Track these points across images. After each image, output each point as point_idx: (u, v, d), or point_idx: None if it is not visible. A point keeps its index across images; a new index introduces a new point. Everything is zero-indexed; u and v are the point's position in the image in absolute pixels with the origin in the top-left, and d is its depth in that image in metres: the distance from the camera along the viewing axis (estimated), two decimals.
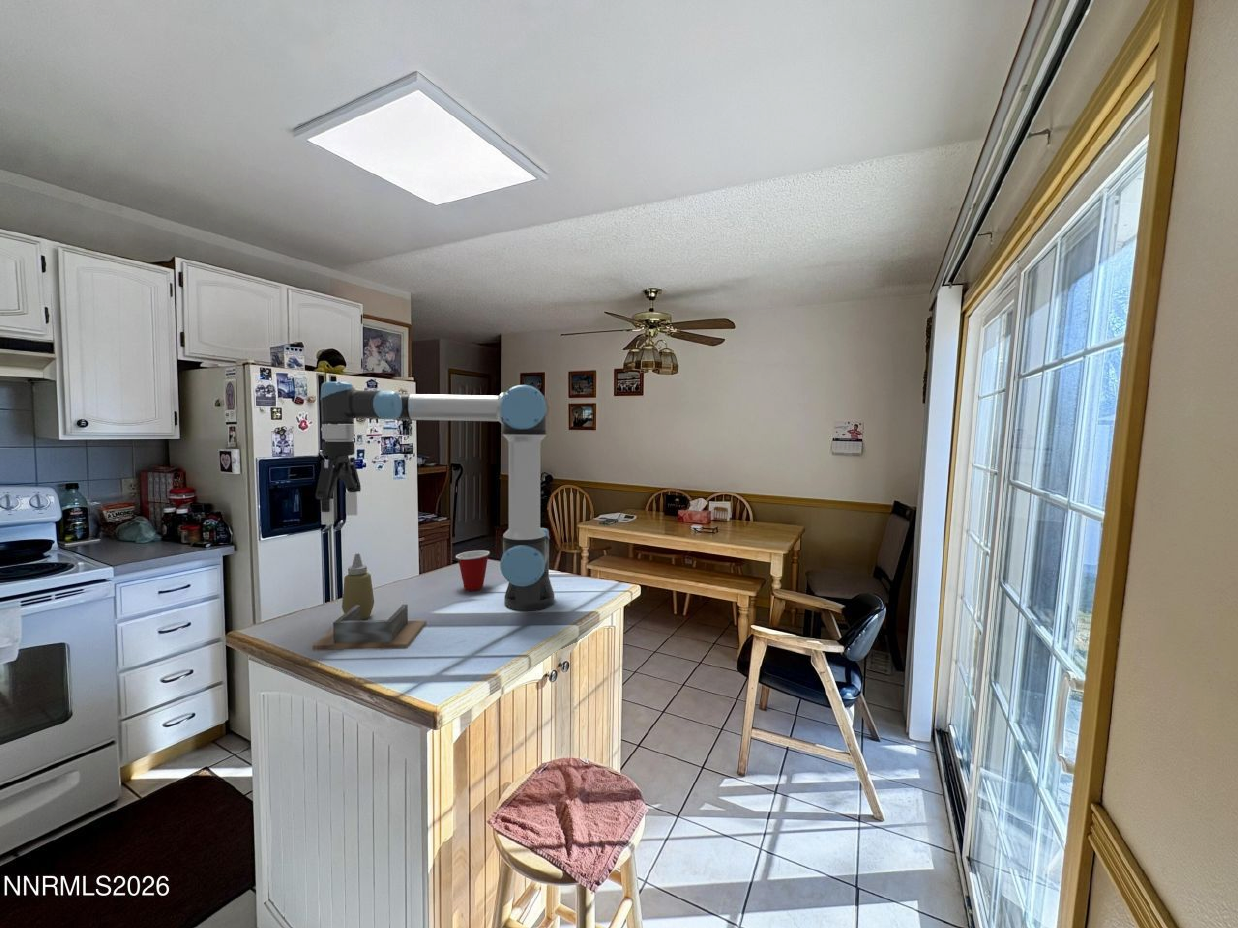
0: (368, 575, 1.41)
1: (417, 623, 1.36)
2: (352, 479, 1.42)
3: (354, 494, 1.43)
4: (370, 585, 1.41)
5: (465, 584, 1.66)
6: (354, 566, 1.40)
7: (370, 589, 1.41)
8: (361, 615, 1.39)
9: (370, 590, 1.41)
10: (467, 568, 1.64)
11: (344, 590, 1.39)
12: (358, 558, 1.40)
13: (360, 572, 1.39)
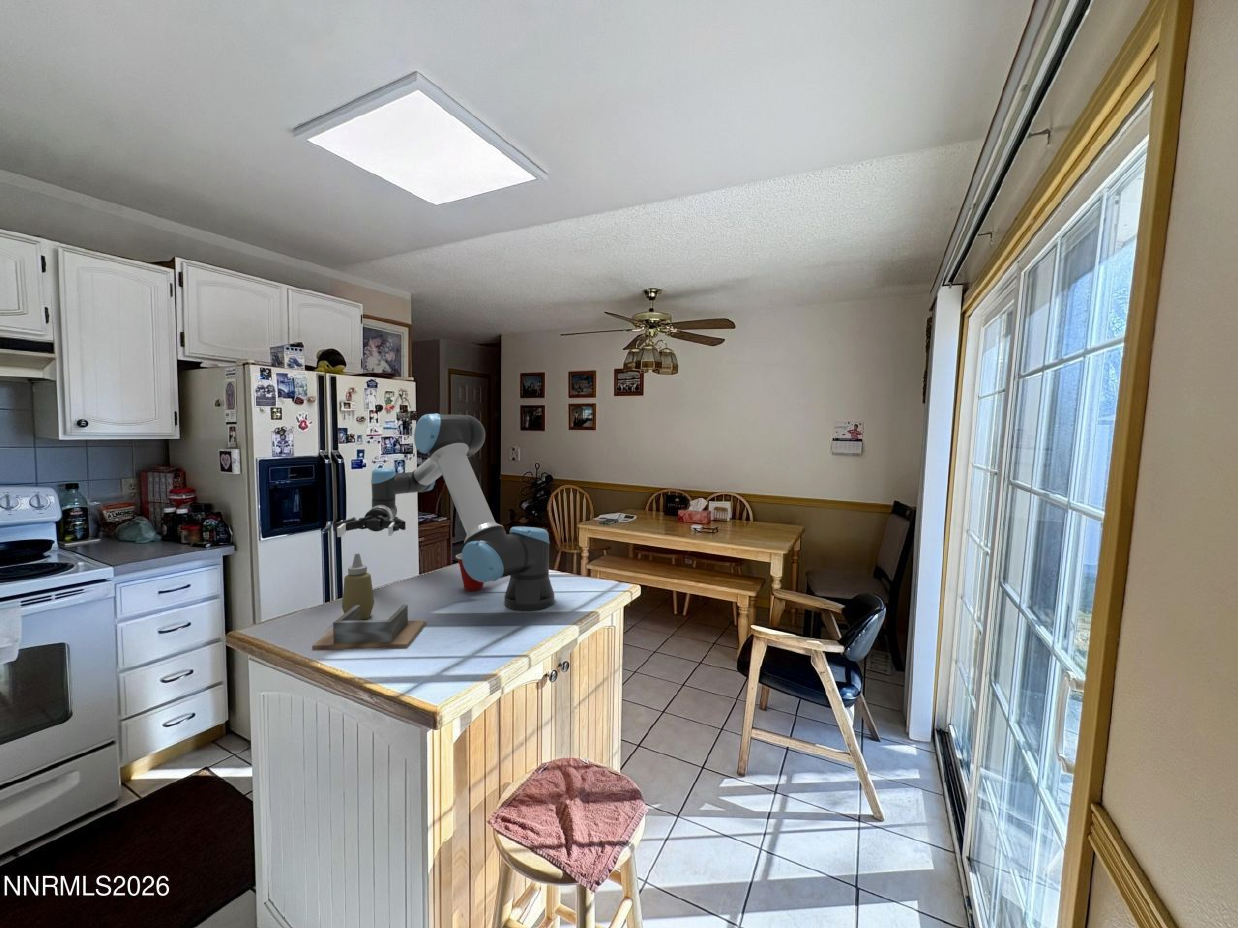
0: (368, 575, 1.41)
1: (417, 623, 1.36)
2: (389, 520, 1.60)
3: None
4: (370, 585, 1.41)
5: (465, 584, 1.66)
6: (354, 566, 1.40)
7: (370, 589, 1.41)
8: (361, 615, 1.39)
9: (370, 590, 1.41)
10: None
11: (344, 590, 1.39)
12: (358, 558, 1.40)
13: (360, 572, 1.39)
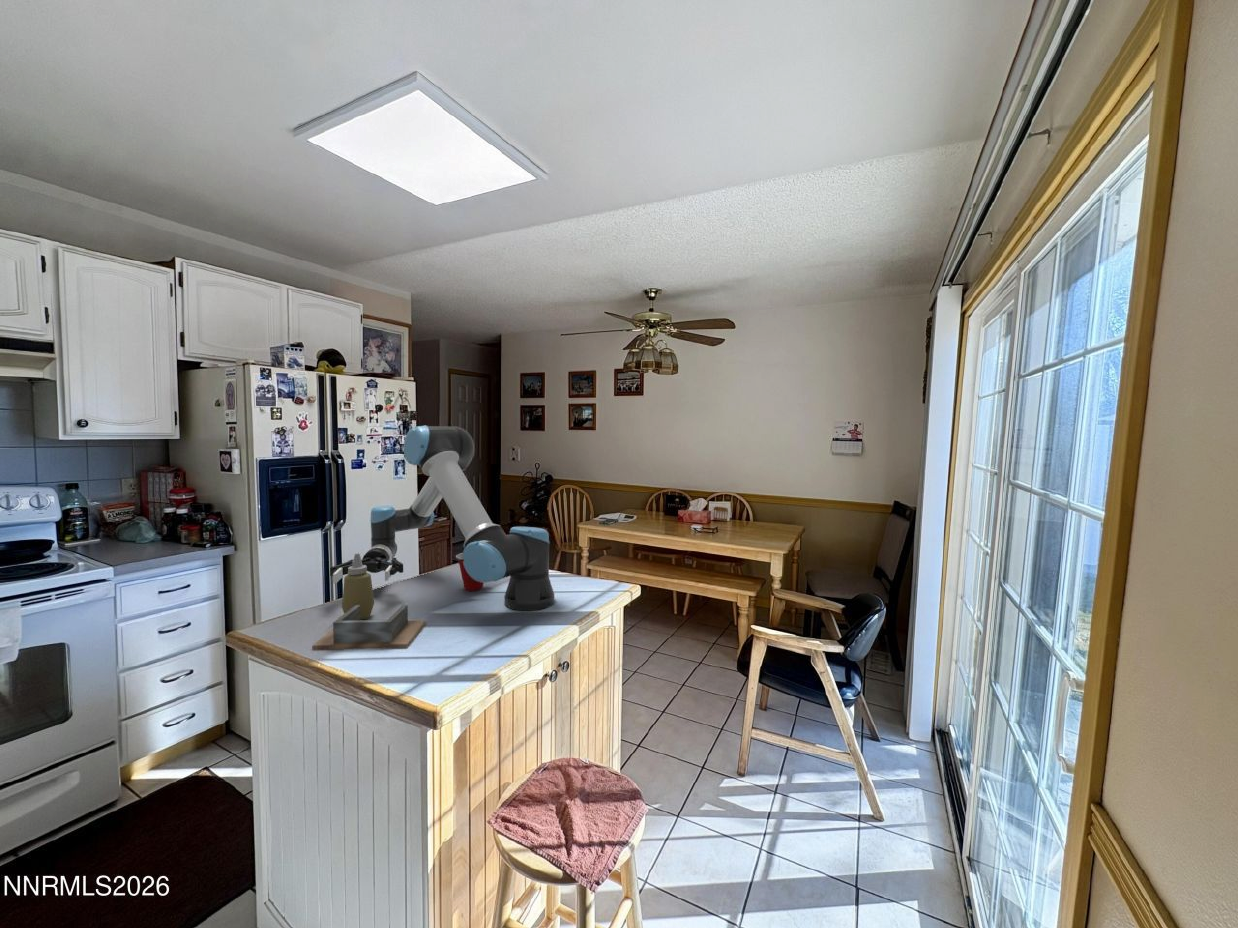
0: (368, 575, 1.41)
1: (417, 623, 1.36)
2: (386, 563, 1.57)
3: None
4: (370, 585, 1.41)
5: (465, 584, 1.66)
6: (354, 566, 1.40)
7: (370, 589, 1.41)
8: (361, 615, 1.39)
9: (370, 590, 1.41)
10: None
11: (344, 590, 1.39)
12: (358, 558, 1.40)
13: (360, 572, 1.39)
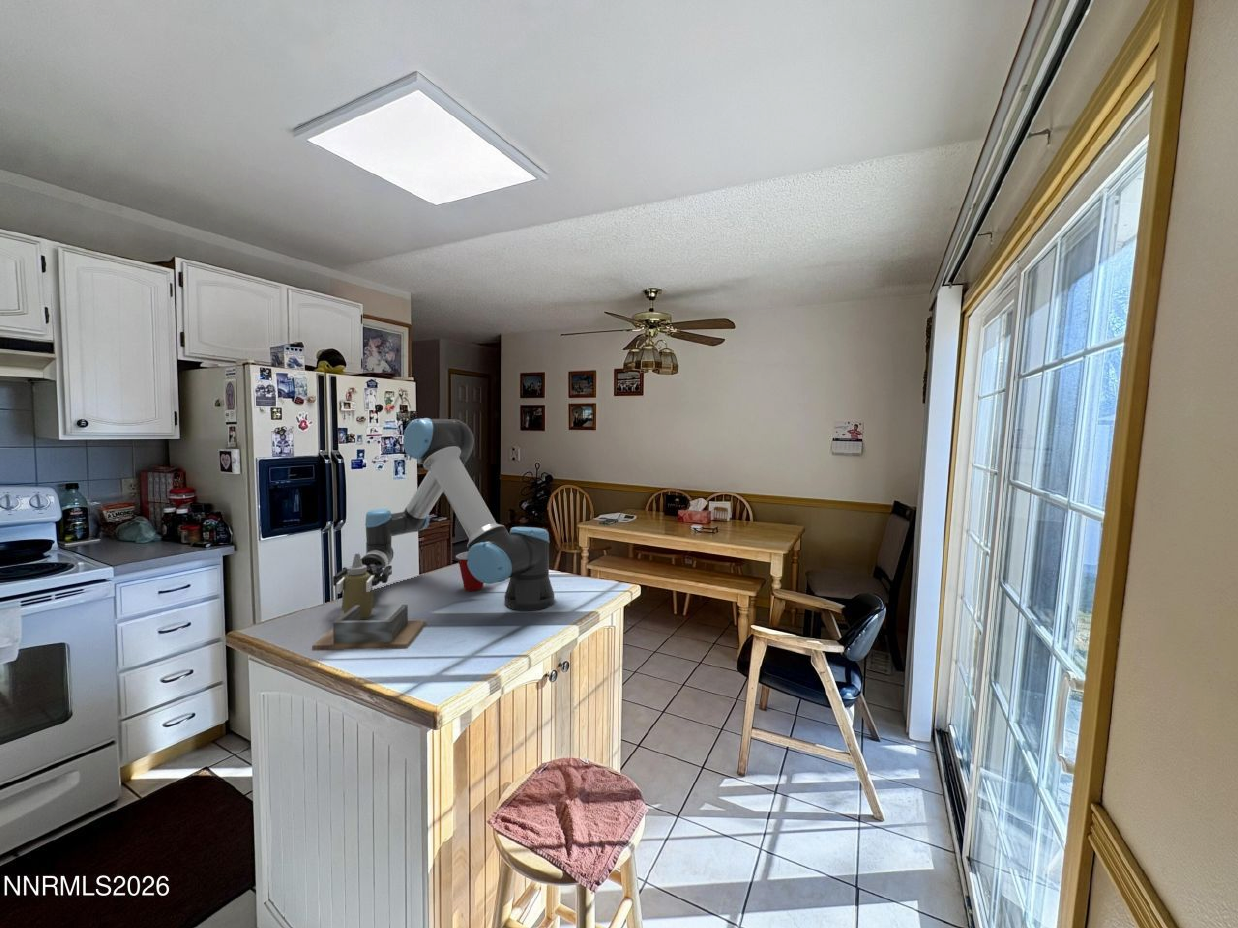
0: (368, 575, 1.41)
1: (417, 623, 1.36)
2: (374, 571, 1.48)
3: None
4: None
5: (465, 584, 1.66)
6: (354, 566, 1.40)
7: None
8: (361, 615, 1.39)
9: (370, 590, 1.41)
10: (467, 568, 1.64)
11: (344, 590, 1.39)
12: (358, 558, 1.40)
13: (360, 572, 1.39)
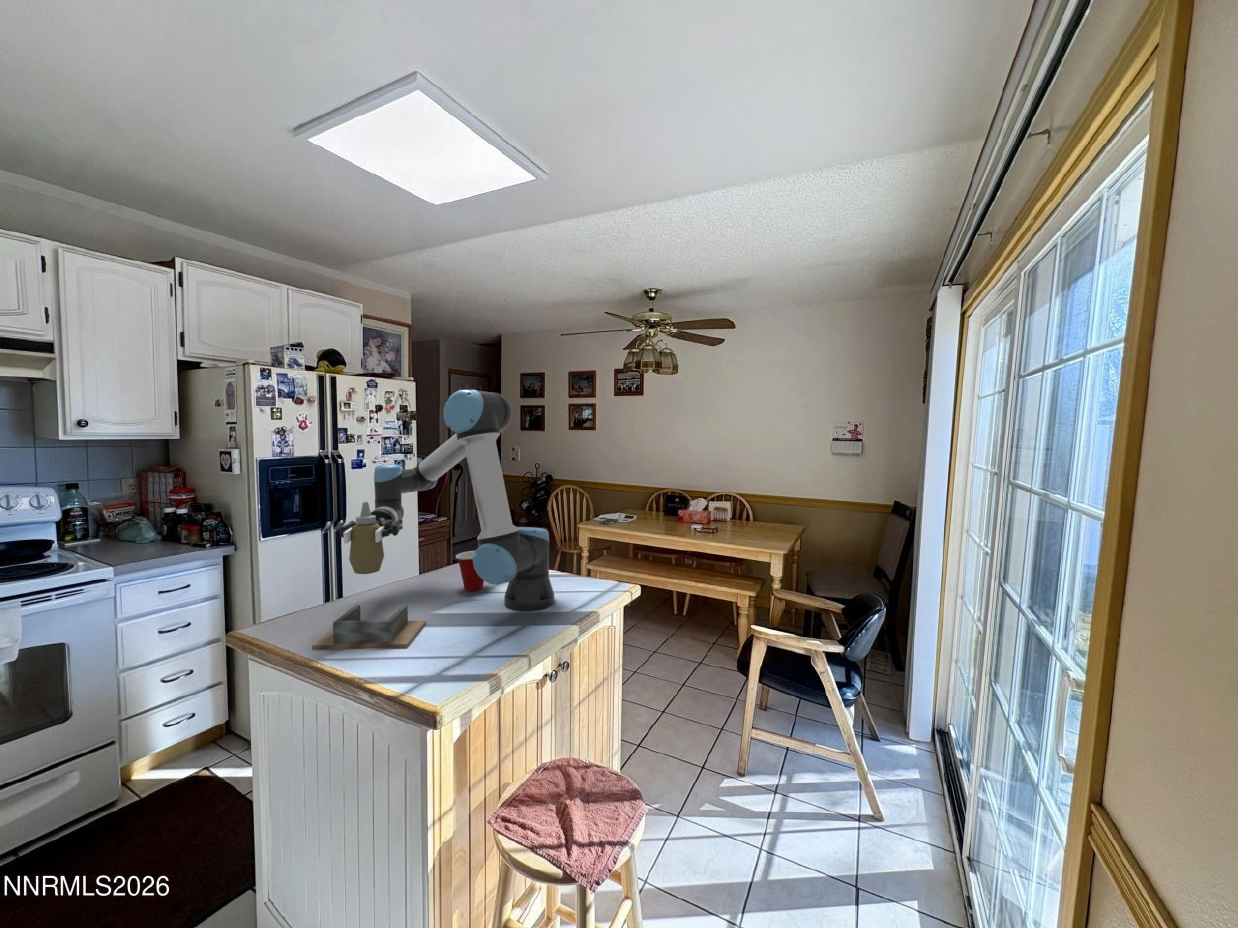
0: (377, 525, 1.30)
1: (417, 623, 1.36)
2: (384, 524, 1.37)
3: None
4: None
5: (465, 584, 1.66)
6: (362, 515, 1.29)
7: (380, 541, 1.30)
8: (370, 568, 1.28)
9: (380, 542, 1.30)
10: (467, 568, 1.64)
11: (352, 541, 1.28)
12: (366, 507, 1.29)
13: (369, 521, 1.29)
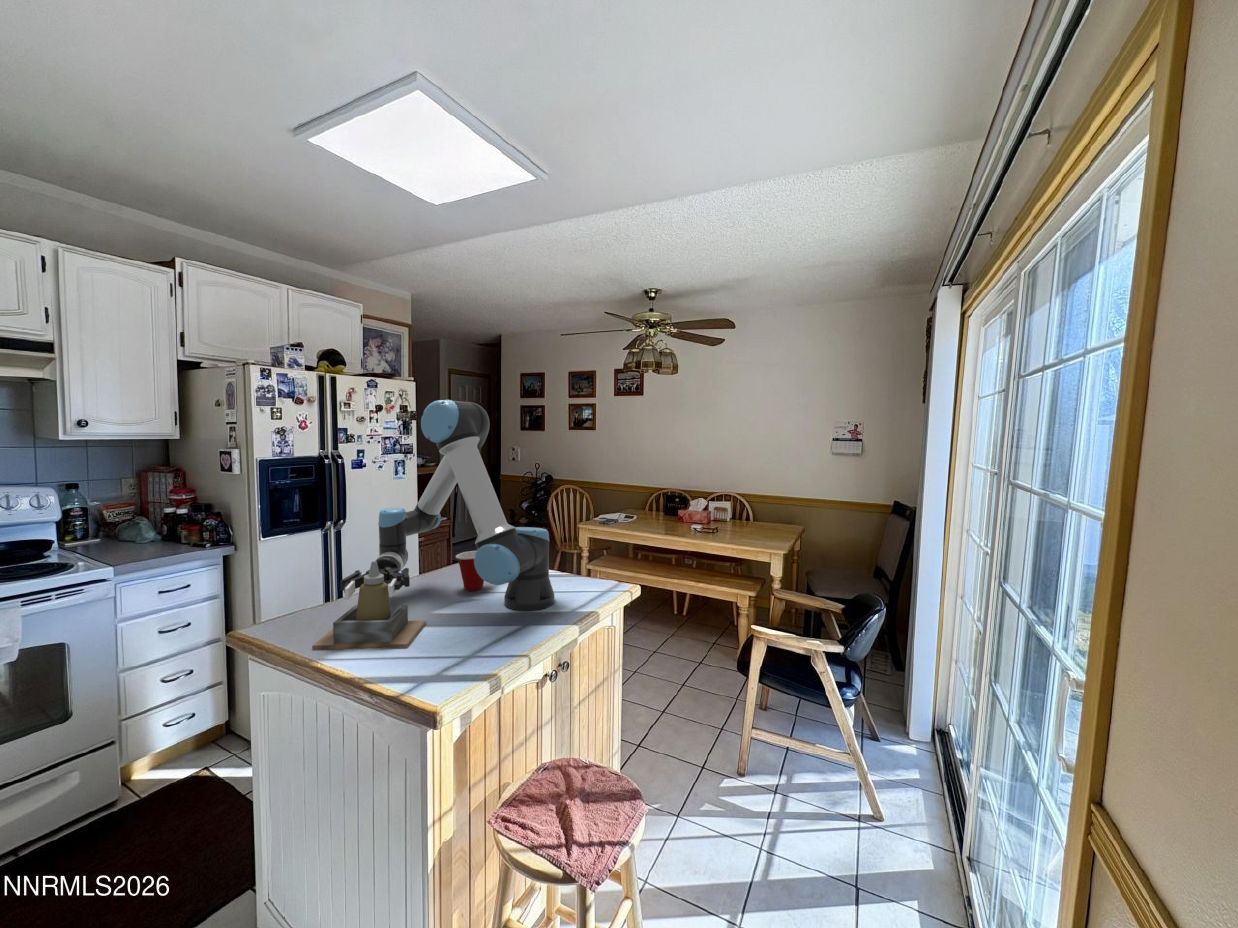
0: (385, 585, 1.29)
1: (417, 623, 1.36)
2: (393, 574, 1.36)
3: None
4: (387, 596, 1.29)
5: (465, 584, 1.66)
6: (370, 575, 1.28)
7: (387, 600, 1.29)
8: None
9: (387, 601, 1.29)
10: (467, 568, 1.64)
11: (359, 601, 1.27)
12: (375, 566, 1.28)
13: (377, 582, 1.27)
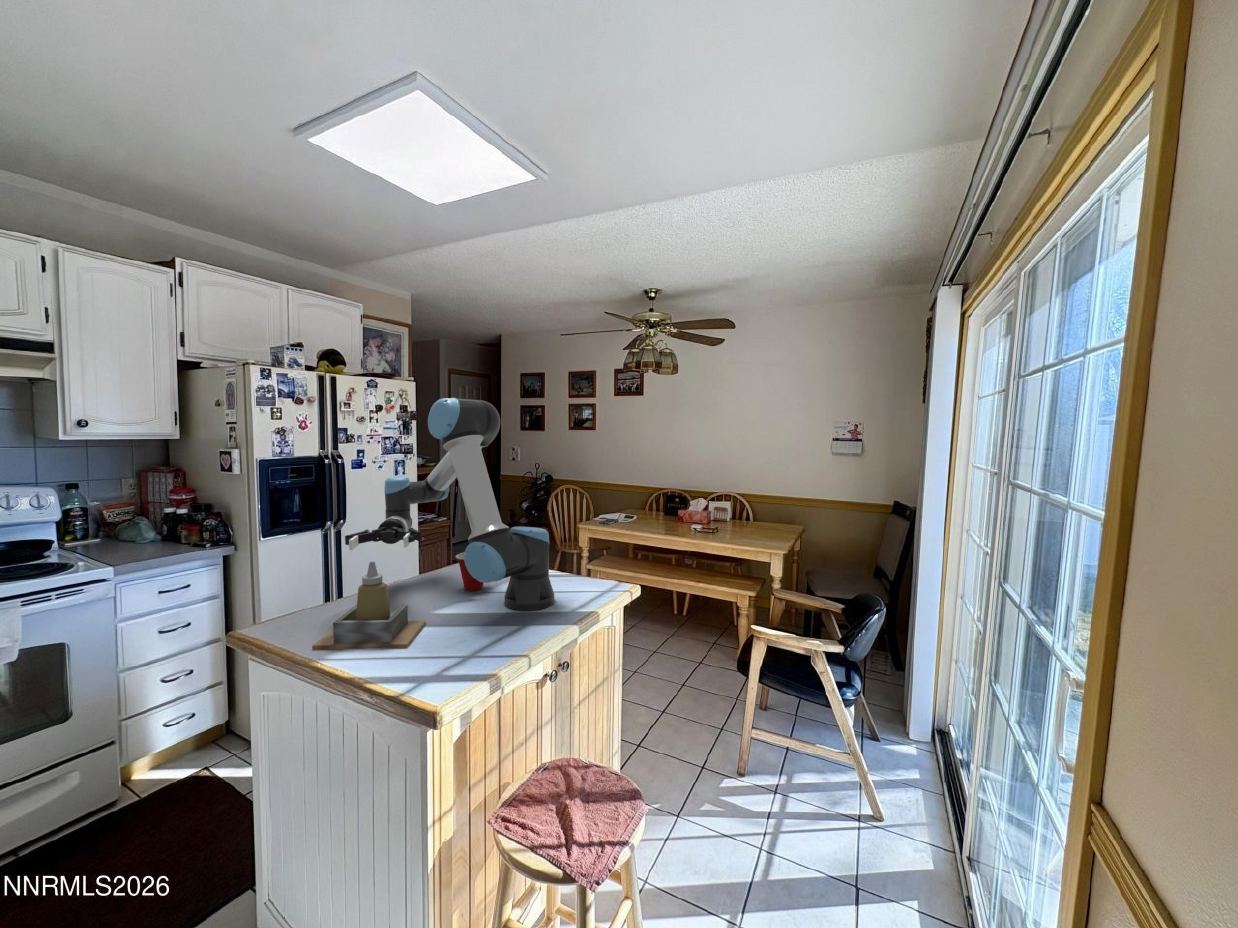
0: (384, 585, 1.29)
1: (417, 623, 1.36)
2: (404, 531, 1.50)
3: None
4: (386, 596, 1.29)
5: (465, 584, 1.66)
6: (369, 575, 1.28)
7: (386, 600, 1.29)
8: None
9: (386, 601, 1.29)
10: None
11: (358, 602, 1.27)
12: (373, 566, 1.28)
13: (375, 582, 1.27)
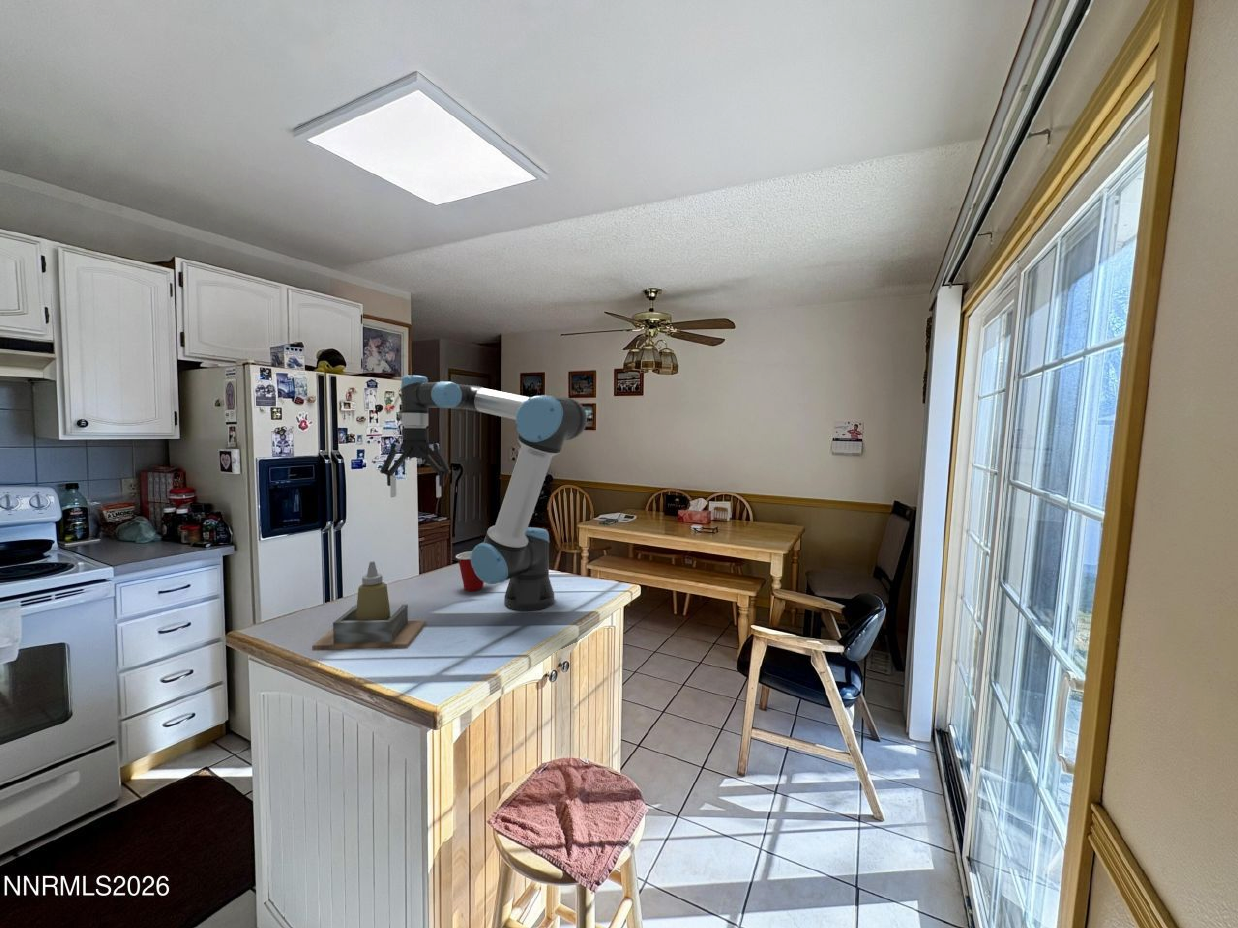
0: (384, 585, 1.29)
1: (417, 623, 1.36)
2: (431, 463, 1.55)
3: None
4: (386, 596, 1.29)
5: (465, 584, 1.66)
6: (369, 575, 1.28)
7: (386, 600, 1.29)
8: None
9: (386, 601, 1.29)
10: (467, 568, 1.64)
11: (358, 602, 1.27)
12: (373, 566, 1.28)
13: (375, 582, 1.27)
